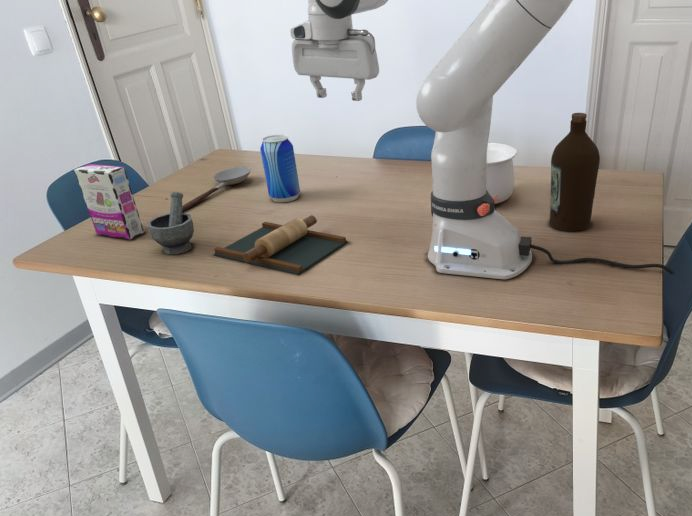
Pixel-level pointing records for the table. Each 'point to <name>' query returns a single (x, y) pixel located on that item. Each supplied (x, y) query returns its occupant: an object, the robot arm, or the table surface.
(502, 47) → the robot arm
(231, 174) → the spoon
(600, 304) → the table surface
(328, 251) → the chalkboard
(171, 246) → the mortar and pestle
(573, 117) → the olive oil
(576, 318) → the table surface
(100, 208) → the candy bar box
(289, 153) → the beer can
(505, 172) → the pot
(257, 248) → the rolling pin
